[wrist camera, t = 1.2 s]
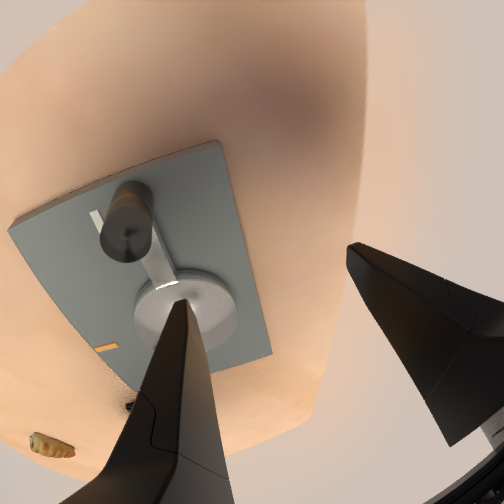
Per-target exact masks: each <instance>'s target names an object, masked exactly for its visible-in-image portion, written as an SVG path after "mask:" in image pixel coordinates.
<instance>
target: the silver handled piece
mask: <svg viewBox="0 0 504 504" xmlns="http://www.w3.org/2000/svg"><path fill="white" fill-rule="evenodd" d="M153 210H154V196H153V193H152V191H151V190H150V188H149V187H148V186H146V185H145V184H143V183H141V182H138V181H129V182H125V183H123V184H122V185H120V186H119V187H118V188H117V189H116V191H115V192H114V195H113V198H112V200H111V203H110V206H109V209H108V211H107V214H106V217H105V220H104V223H103V226H102V229H101V232H100V245H101V247H102V249H103V251H104V252H105V254H106V255H107V256H108V257H110V258H111V259H113V260H115V261H118V262H122V263H132V262H136V261H138V260H141V262H142V264H143V266H144V268H145V270H146V271H147V273H148V275H149V277H150V279H151V281H149V282H148V283H147V284H146V285H144V286H143V288H142V289H141V290H140V291H139V293H138V295H137V297H136V300H135V305H134V328H135V331H136V333H137V335H138V337H139V338H140V339H141V341H142V342H143V343H145V344H146V345H147V346H148V347H150V348H152V349H154V350H155V347H156V345H157V342H158V340H159V337H160V335H161V332H162V330H163V328H164V325H165V323H166V320H167V318H168V315H169V313H170V311H171V308H172V306H173V304H174V302H175V301H178V300H181V299H187V300H188V301H189V303H190V305H191V307H192V310H193V312H194V314H195V316H196V318H197V322H198V326H199V329H200V333H201V337H202V341H203V344H204V348H205V352H207V351H209V350H212V349H214V348H216V347H217V346H219V345H221V344H222V343H223V342H225V341H226V340H227V339H228V338H229V337H230V336H231V334H232V333H233V332H234V330H235V328H236V325H237V321H238V313H237V309H236V306H235V303H234V299H233V296H232V294H231V291H230V290H229V288H228V287H227V285H226V284H225V283H224V282H222V281H221V280H220V279H218V278H217V277H215V276H213V275H211V274H208V273H205V272H202V271H196V270H177V271H176V269H175V267H174V265H173V262H172V260H171V258H170V256H169V253H168V251H167V249H166V246H165V244H164V242H163V239H162V237H161V235H160V232H159V230H158V227H157V225H156V223H155V220H154V218H153Z"/></svg>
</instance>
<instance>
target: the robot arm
mask: <svg viewBox="0 0 504 504" xmlns="http://www.w3.org/2000/svg"><path fill="white" fill-rule="evenodd" d="M346 266H347V269H348V272H349V274H350V275H351V277H352V279H353V281H354V283H355V285H356V287H357V289H358V291H359V293H360V295H361V297H362V298H363V301H364V302H365V304H366V306H367V307H368V309H369V311H370V312H371V314H372V316H373V317H374V319H375V320H376V322H377V323H378V325H379V326H380V328H381V329H382V330H383V333H384V334H385V336H386V337H387V339H388V341H389V342H390V344H391V345H392V347H393V349H394V350H395V352H396V353H397V355H398V356H399V358H400V360H401V361H402V363H403V365H404V366H405V368H406V370H407V372H408V373H409V375H410V377H411V378H412V380H413V382H414V383H415V385H416V387H417V389H418V390H419V392H420V394H421V395H422V397H423V399H424V400H425V403H426V405H427V406H428V408H429V410H430V412H431V414H432V415H433V417H434V419H435V421H436V423H437V424H438V426H439V428H440V430H441V432H442V434H443V436H444V438H445V440H446V441H447V443H448V445H449V447H451V446H453V445H454V444H456V443H457V442H459V441H460V440H461V439H463V438H464V437H466V436H467V435H469V434H470V433H471V432H473V431H474V430H475V429H477V428H478V427H479V426H480V427H481V429H482V430H483V432H484V434H485V436H486V437H487V439H488V441H489V442H490V444H491V445H492V447H493V449H494V451H492V452H491V453H490V454H489V455H488V456H487V457H486V458H485V459H483V460H482V461H481V462H480V463H479V464H478V465H476V466H475V467H474V468H473V469H471V470H470V471H469V472H468V473H466V474H465V475H464V476H463V477H461V478H460V479H459V480H457V481H456V482H454V483H453V484H452V485H450V486H449V487H448V488H446V489H445V490H443V491H442V492H440V493H439V494H437V495H436V496H434V497H433V498H431V499H430V500H428V501H427V502H425V503H424V504H504V302H501V301H499V300H496V299H493V298H491V297H488V296H485V295H483V294H480V293H477V292H475V291H472V290H470V289H467V288H465V287H462V286H460V285H458V284H455V283H453V282H451V281H449V280H447V279H444V278H442V277H440V276H438V275H435V274H433V273H431V272H429V271H426V270H424V269H422V268H419V267H417V266H415V265H413V264H410V263H408V262H406V261H403V260H401V259H399V258H396V257H394V256H391V255H389V254H386V253H384V252H382V251H380V250H377V249H375V248H372V247H370V246H367V245H365V244H362V243H360V242H356V243H353V244H350V245H348V246H347V256H346ZM125 408H126V409H127V410H128V411H129V412H130V415H129V417H128V419H127V421H126V424H125V426H124V428H123V430H122V432H121V434H120V436H119V438H118V440H117V443H116V445H115V447H114V449H113V451H112V453H111V455H110V457H109V459H108V461H107V463H106V465H105V467H104V468H103V470H102V471H101V472H100V474H99V475H98V476H97V477H96V478H94V479H93V480H92V481H90V482H89V483H88V484H86V485H85V486H84V487H82V488H81V489H79V490H78V491H77V492H75V493H74V494H72V495H71V496H70V497H68V498H67V499H65V500H64V501H62V502H61V503H59V504H234V499H233V495H232V490H231V486H230V481H229V477H228V472H227V467H226V462H225V457H224V452H223V447H222V442H221V436H220V431H219V425H218V420H217V414H216V408H215V402H214V396H213V390H212V384H211V377H210V370H209V364H208V360H207V356H206V352H205V348H204V344H203V341H202V337H201V333H200V329H199V326H198V322H197V318H196V316H195V314H194V312H193V310H192V307H191V305H190V303H189V301H188V300H187V299H181V300H178V301H175V302H174V304H173V306H172V308H171V311H170V313H169V315H168V318H167V320H166V323H165V325H164V328H163V330H162V332H161V335H160V337H159V340H158V342H157V345H156V347H155V350H154V352H153V355H152V358H151V360H150V363H149V365H148V368H147V370H146V373H145V376H144V378H143V381H142V384H141V386H140V391H138V394H137V397H136V399H135V402H134V403H132V404H127V405H125Z"/></svg>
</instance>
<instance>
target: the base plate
mask: <svg viewBox="0 0 504 504" xmlns="http://www.w3.org/2000/svg"><path fill="white" fill-rule="evenodd" d="M129 181H138V182H141V183H143V184H145V185H146V186H148V187H149V188H150V190H151V191H152V193H153V196H154V210H153V218H154V220H155V223H156V225H157V227H158V230H159V232H160V235H161V237H162V239H163V242H164V244H165V246H166V249H167V251H168V253H169V256H170V258H171V260H172V262H173V265H174V267H175V269H176V271H177V270H196V271H202V272H205V273H208V274H211V275H213V276H215V277H217V278H218V279H220V280H221V281H222V282H224V283H225V284H226V285H227V287H228V288H229V290H230V291H231V294H232V296H233V299H234V303H235V306H236V309H237V313H238V321H237V325H236V328H235V330H234V332H233V333H232V334H231V336H230V337H229V338H228V339H227V340H226V341H225V342H223V343H222V344H221V345H219V346H217V347H216V348H214V349H212V350H209V351H207V352H206V356H207V360H208V364H209V370H210V373H214V372H217V371H221V370H224V369H227V368H231V367H234V366H237V365H241V364H244V363H247V362H250V361H253V360H256V359H260V358H263V357H266V356H269V355H272V354H273V353H272V350H271V346H270V342H269V338H268V334H267V330H266V326H265V322H264V318H263V314H262V310H261V306H260V302H259V298H258V294H257V290H256V286H255V282H254V278H253V274H252V270H251V266H250V262H249V258H248V254H247V249H246V245H245V241H244V237H243V233H242V229H241V225H240V221H239V217H238V213H237V209H236V205H235V201H234V197H233V193H232V189H231V185H230V180H229V176H228V172H227V168H226V164H225V160H224V156H223V152H222V148H221V145H220V143H219V142H218V140H215V141H211V142H208V143H204V144H201V145H198V146H194V147H191V148H188V149H184V150H181V151H178V152H175V153H172V154H169V155H166V156H163V157H160V158H157V159H154V160H151V161H148V162H145V163H143V164H140V165H137V166H134V167H132V168H129V169H126V170H124V171H121V172H118V173H116V174H113V175H111V176H108V177H106V178H103V179H101V180H98V181H96V182H94V183H91V184H89V185H87V186H84V187H82V188H80V189H77V190H75V191H73V192H71V193H69V194H66V195H64V196H62V197H60V198H58V199H56V200H54V201H51V202H49V203H47V204H45V205H43V206H41V207H39V208H37V209H35V210H33V211H31V212H29V213H27V214H26V215H24V216H22V217H20V218H18V219H16V220H15V221H14V222H13V223H12V225H11V226H10V227H9V229H8V230H7V231H8V233H9V235H10V236H11V238H12V240H13V241H14V243H15V245H16V246H17V248H18V250H19V251H20V253H21V255H22V256H23V258H24V259H25V261H26V262H27V264H28V266H29V267H30V269H31V270H32V272H33V273H34V275H35V276H36V278H37V279H38V280H39V282H40V283H41V285H42V286H43V288H44V289H45V290H46V292H47V293H48V295H49V296H50V297H51V299H52V300H53V301H54V303H55V304H56V305H57V307H58V308H59V309H60V310H61V312H62V313H63V314H64V316H65V317H66V318H67V319H68V321H69V322H70V323H71V324H72V325H73V327H74V328H75V329H76V330H77V331H78V333H79V334H80V335H81V336H82V337H83V338H84V340H85V341H86V342H87V343H88V344H89V345H90V346H91V348H92V349H93V350H94V351H95V352H96V353H97V354H98V355H99V356H100V357H101V358H102V359H103V361H104V362H105V363H106V364H107V365H108V366H109V367H110V368H111V369H112V370H113V371H114V372H115V373H116V374H117V375H118V376H119V377H120V378H121V379H122V380H123V381H124V382H125V383H126V384H127V385H128V386H129V387H130V388H131V389H132V390H134V391H135V392H136V391H140V386H141V384H142V381H143V378H144V376H145V373H146V370H147V368H148V365H149V363H150V360H151V358H152V355H153V352H154V349H152V348H150V347H148V346H147V345H146V344H145V343H143V342H142V341H141V339H140V338H139V337H138V335H137V333H136V331H135V328H134V305H135V300H136V297H137V295H138V293H139V291H140V290H141V289H142V288H143V286H144V285H146V284H147V283H148V282H149V281H151V279H150V277H149V275H148V273H147V271H146V270H145V268H144V266H143V264H142V262H141V260H138V261H136V262H132V263H122V262H118V261H115V260H113V259H111V258H110V257H108V256H107V255H106V254H105V252H104V251H103V249H102V247H101V245H100V232H101V229H102V226H103V223H104V220H105V217H106V214H107V211H108V209H109V206H110V203H111V200H112V198H113V195H114V192H115V191H116V189H117V188H118V187H119V186H120V185H122V184H123V183H125V182H129Z"/></svg>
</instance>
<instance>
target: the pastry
mask: <svg viewBox="0 0 504 504" xmlns="http://www.w3.org/2000/svg"><path fill="white" fill-rule="evenodd" d="M30 447H31V450H32V452H35V453H40V454H41V455H44V456H47V457H54V458H62V457H64V458H70V457H73V456H75V451H74V449H73V448H72V447H71V446H70V445H67V444H65V443H63V442H61V441H59V440H56V439H54V438H51V437H48V436H46V435H43V434H40V433H33V435H32V437H31V438H30Z"/></svg>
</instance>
